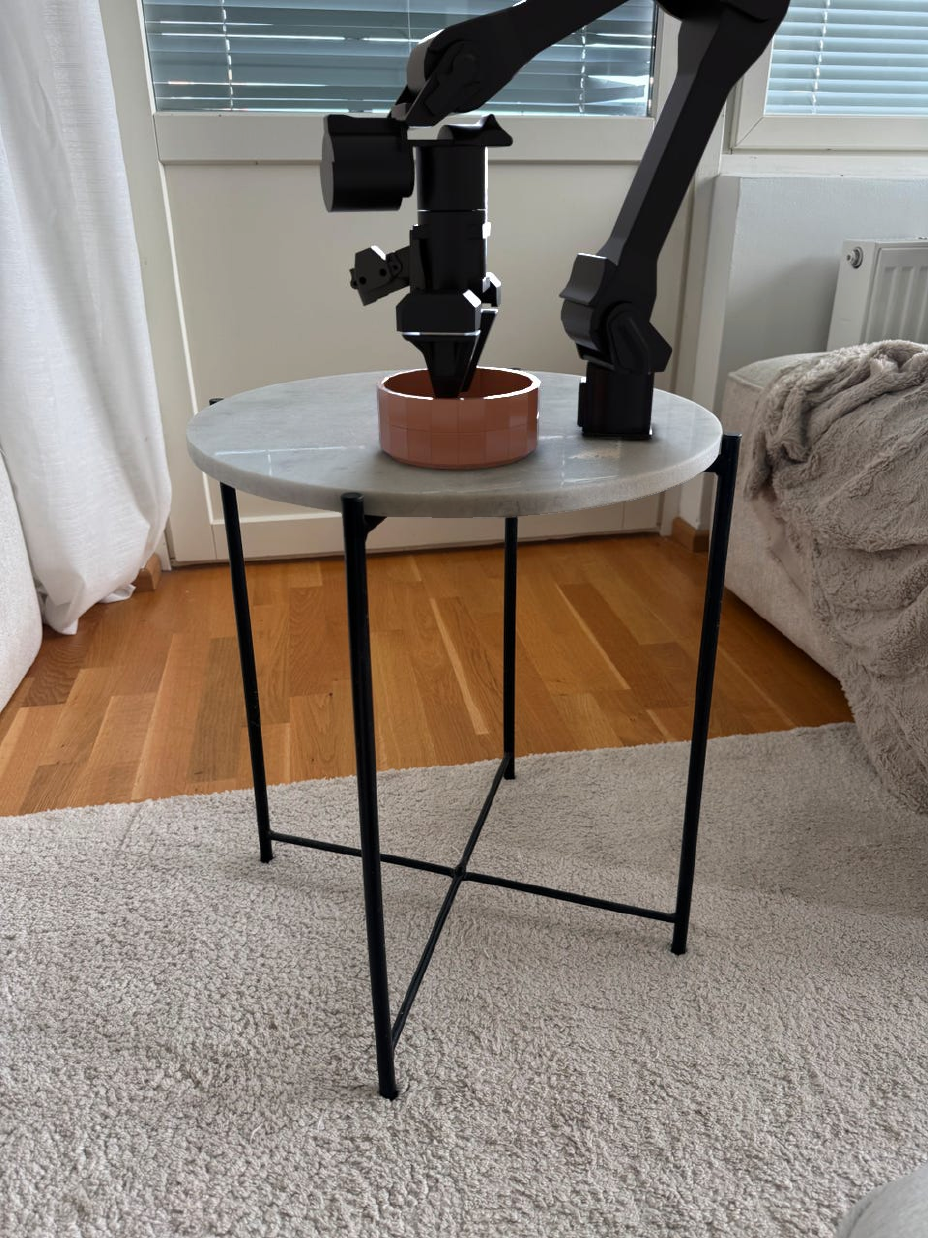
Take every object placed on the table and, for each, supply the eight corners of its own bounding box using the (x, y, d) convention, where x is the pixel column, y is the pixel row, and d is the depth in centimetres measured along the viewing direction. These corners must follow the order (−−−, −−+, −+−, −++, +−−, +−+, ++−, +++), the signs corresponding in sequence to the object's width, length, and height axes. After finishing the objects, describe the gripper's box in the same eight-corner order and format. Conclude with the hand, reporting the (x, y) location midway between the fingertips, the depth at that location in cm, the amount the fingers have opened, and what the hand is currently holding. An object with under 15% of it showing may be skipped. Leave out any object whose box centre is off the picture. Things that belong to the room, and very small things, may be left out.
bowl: (543, 431, 88) (545, 367, 85) (530, 475, 75) (532, 402, 73) (399, 426, 90) (396, 364, 87) (362, 468, 77) (358, 397, 75)
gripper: (381, 207, 84) (389, 379, 91) (324, 215, 67) (338, 425, 74) (502, 206, 83) (500, 381, 89) (473, 214, 66) (474, 429, 73)
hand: (454, 402), depth 81 cm, fingers open, 9 cm apart
